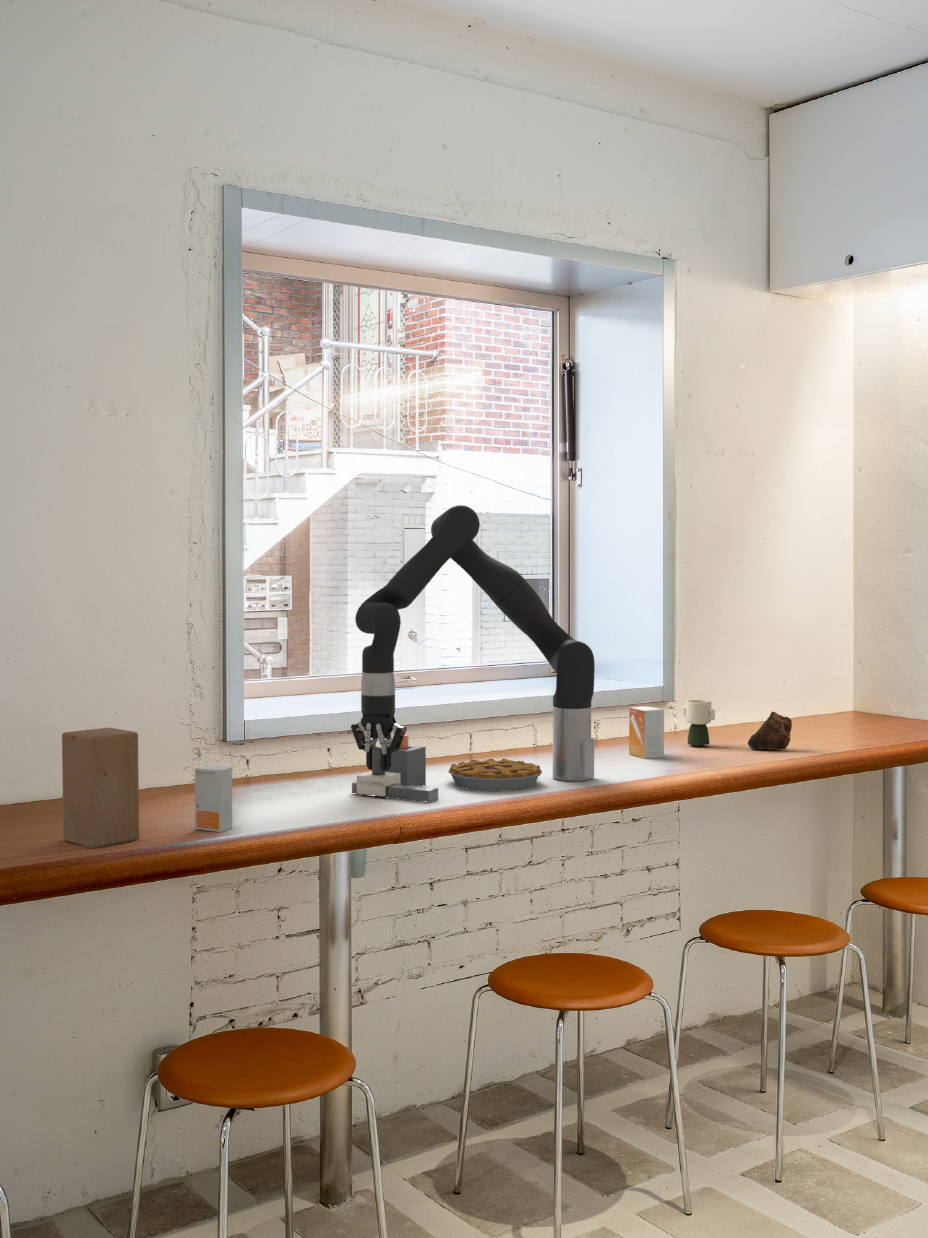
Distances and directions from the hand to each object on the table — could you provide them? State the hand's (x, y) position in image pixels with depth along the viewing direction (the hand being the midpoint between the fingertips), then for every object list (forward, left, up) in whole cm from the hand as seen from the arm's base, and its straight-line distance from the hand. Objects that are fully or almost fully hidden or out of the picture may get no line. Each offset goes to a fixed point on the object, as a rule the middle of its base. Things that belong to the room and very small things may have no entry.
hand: (378, 769), depth 251 cm
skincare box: (+9, +44, -6) cm, 45 cm away
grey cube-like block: (+1, -11, -6) cm, 12 cm away
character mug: (-40, -105, -6) cm, 113 cm away
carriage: (0, 0, -6) cm, 6 cm away
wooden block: (+21, +61, -6) cm, 65 cm away
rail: (-4, 0, -6) cm, 7 cm away
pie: (-16, -25, -6) cm, 30 cm away
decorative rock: (-60, -108, -6) cm, 124 cm away
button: (+1, -11, +2) cm, 11 cm away
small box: (-33, -81, -6) cm, 88 cm away
